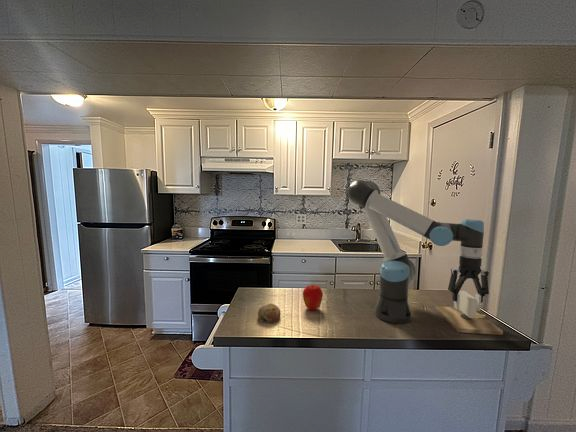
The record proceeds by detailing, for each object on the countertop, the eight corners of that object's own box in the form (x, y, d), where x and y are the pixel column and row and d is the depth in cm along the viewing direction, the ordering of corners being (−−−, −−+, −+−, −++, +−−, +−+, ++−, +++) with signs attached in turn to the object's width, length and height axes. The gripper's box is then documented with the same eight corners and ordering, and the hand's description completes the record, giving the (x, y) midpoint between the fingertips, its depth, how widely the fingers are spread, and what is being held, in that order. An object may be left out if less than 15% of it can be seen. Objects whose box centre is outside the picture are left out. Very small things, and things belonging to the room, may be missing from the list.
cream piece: (467, 322, 105) (468, 299, 105) (455, 312, 114) (457, 290, 113) (492, 323, 104) (494, 300, 103) (478, 313, 113) (480, 291, 112)
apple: (321, 304, 124) (321, 280, 123) (323, 313, 115) (324, 287, 114) (302, 304, 125) (302, 280, 123) (303, 313, 116) (303, 287, 114)
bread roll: (255, 327, 111) (252, 314, 107) (265, 308, 119) (261, 296, 115) (277, 331, 107) (273, 318, 103) (285, 311, 115) (282, 299, 112)
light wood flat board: (458, 332, 101) (458, 327, 101) (435, 309, 121) (435, 305, 120) (502, 334, 99) (503, 330, 99) (472, 311, 119) (472, 307, 119)
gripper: (449, 257, 105) (445, 311, 107) (503, 259, 102) (498, 314, 104) (440, 253, 112) (437, 303, 114) (491, 255, 110) (486, 306, 112)
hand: (466, 308), depth 109 cm, fingers open, 8 cm apart
